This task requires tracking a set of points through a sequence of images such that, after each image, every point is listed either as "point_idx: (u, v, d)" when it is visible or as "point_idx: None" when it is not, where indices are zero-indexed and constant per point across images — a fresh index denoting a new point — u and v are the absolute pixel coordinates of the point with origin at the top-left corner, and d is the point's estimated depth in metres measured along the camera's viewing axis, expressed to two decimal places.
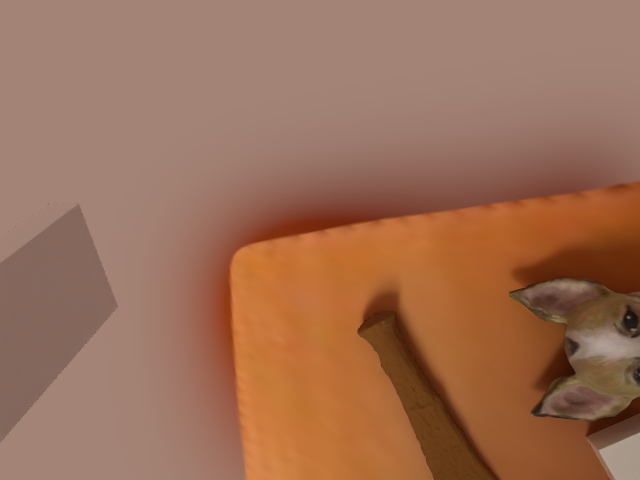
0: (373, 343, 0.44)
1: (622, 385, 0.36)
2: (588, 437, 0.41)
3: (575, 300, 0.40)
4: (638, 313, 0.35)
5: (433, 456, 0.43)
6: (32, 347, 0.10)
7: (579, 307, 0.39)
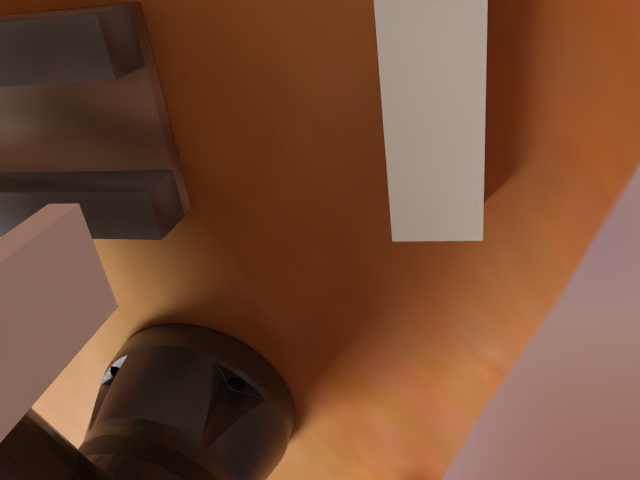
0: None
1: None
2: None
3: None
4: None
5: None
6: (32, 347, 0.10)
7: None
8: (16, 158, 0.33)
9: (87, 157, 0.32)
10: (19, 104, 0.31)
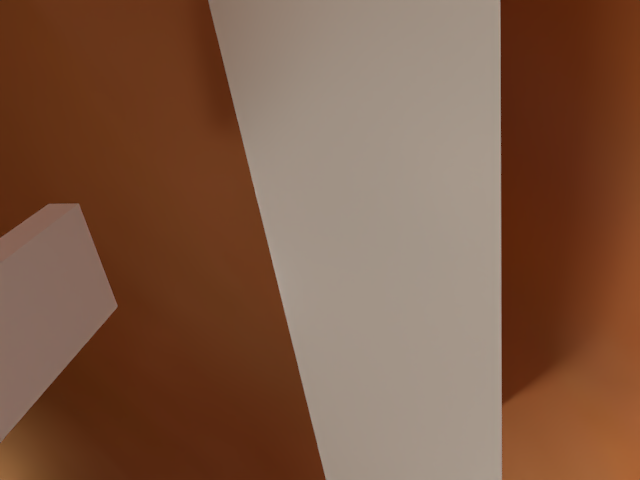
0: None
1: None
2: None
3: None
4: None
5: None
6: (32, 347, 0.10)
7: None
8: None
9: None
10: None
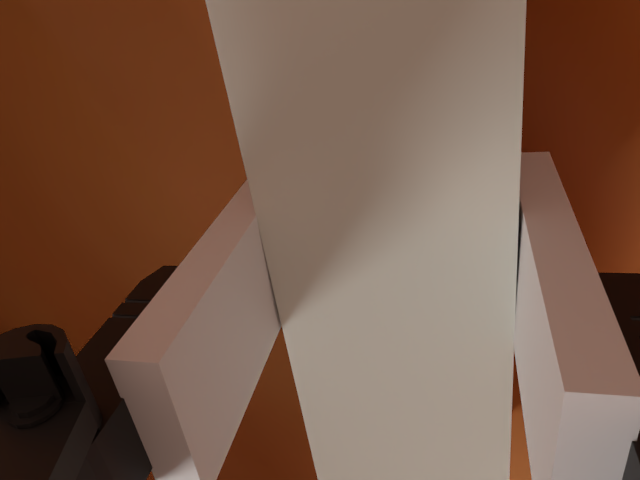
0: None
1: None
2: None
3: None
4: None
5: None
6: None
7: None
8: None
9: None
10: None
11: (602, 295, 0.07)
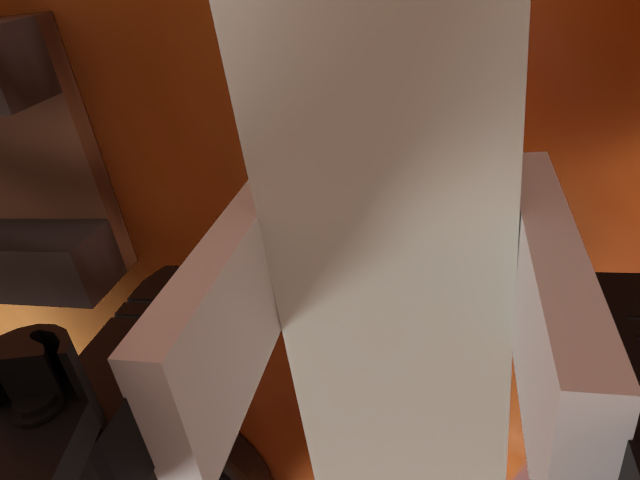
0: None
1: None
2: None
3: None
4: None
5: None
6: None
7: None
8: None
9: (6, 202, 0.26)
10: None
11: (599, 294, 0.07)
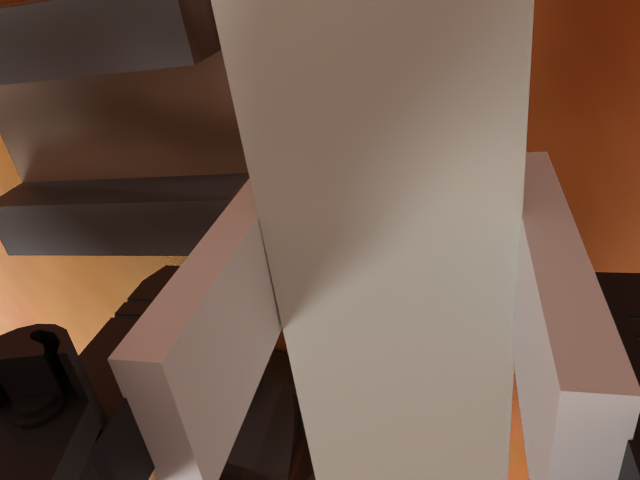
0: None
1: None
2: None
3: None
4: None
5: None
6: None
7: None
8: (67, 164, 0.29)
9: (150, 160, 0.28)
10: (71, 101, 0.27)
11: (598, 294, 0.07)
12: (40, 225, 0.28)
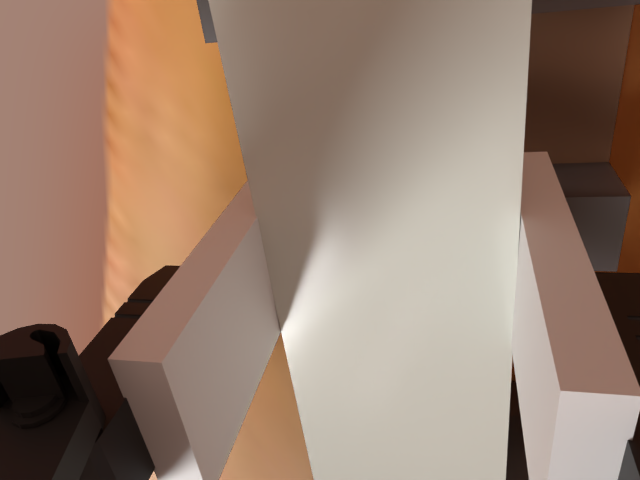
0: None
1: None
2: None
3: None
4: None
5: None
6: None
7: None
8: None
9: None
10: None
11: (598, 295, 0.07)
12: None
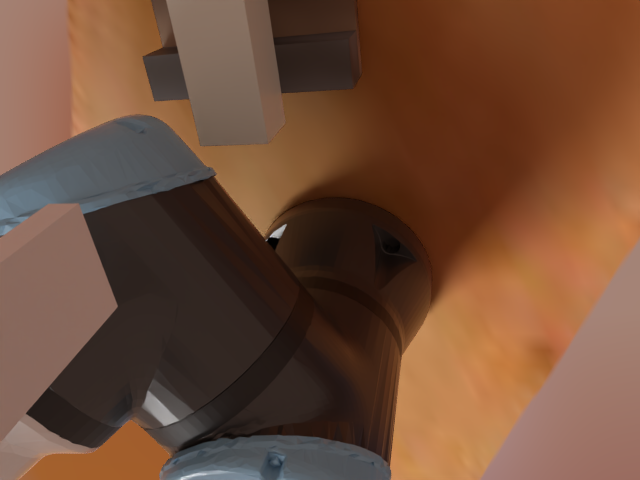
0: None
1: None
2: None
3: None
4: None
5: None
6: (32, 347, 0.10)
7: None
8: None
9: (275, 22, 0.35)
10: None
11: None
12: None
